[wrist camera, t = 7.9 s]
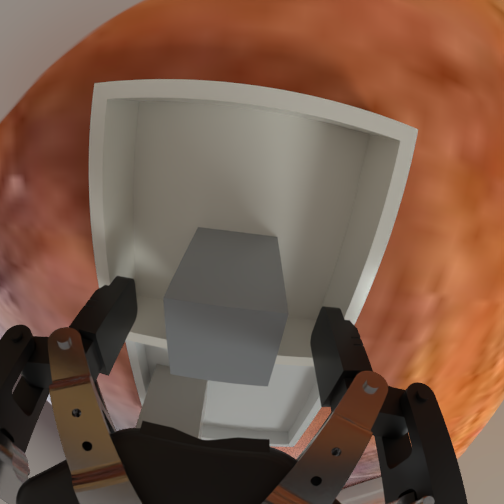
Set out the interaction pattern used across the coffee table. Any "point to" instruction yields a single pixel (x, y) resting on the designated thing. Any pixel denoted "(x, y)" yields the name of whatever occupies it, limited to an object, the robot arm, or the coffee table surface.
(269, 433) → the parts tray
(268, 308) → the blue-grey block
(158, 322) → the open box
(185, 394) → the light grey block
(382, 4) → the coffee table surface
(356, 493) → the white ring
